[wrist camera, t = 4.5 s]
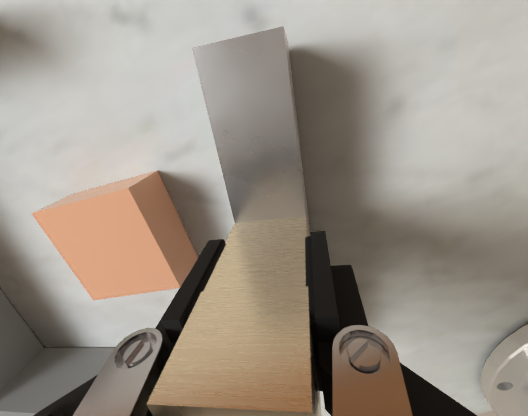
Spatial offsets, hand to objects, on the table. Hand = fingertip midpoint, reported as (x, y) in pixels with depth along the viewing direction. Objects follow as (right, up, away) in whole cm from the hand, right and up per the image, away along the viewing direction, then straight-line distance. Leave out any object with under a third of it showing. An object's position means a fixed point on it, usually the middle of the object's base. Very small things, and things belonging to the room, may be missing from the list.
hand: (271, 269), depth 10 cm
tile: (-8, +1, +6) cm, 10 cm away
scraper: (+1, +2, +4) cm, 4 cm away
